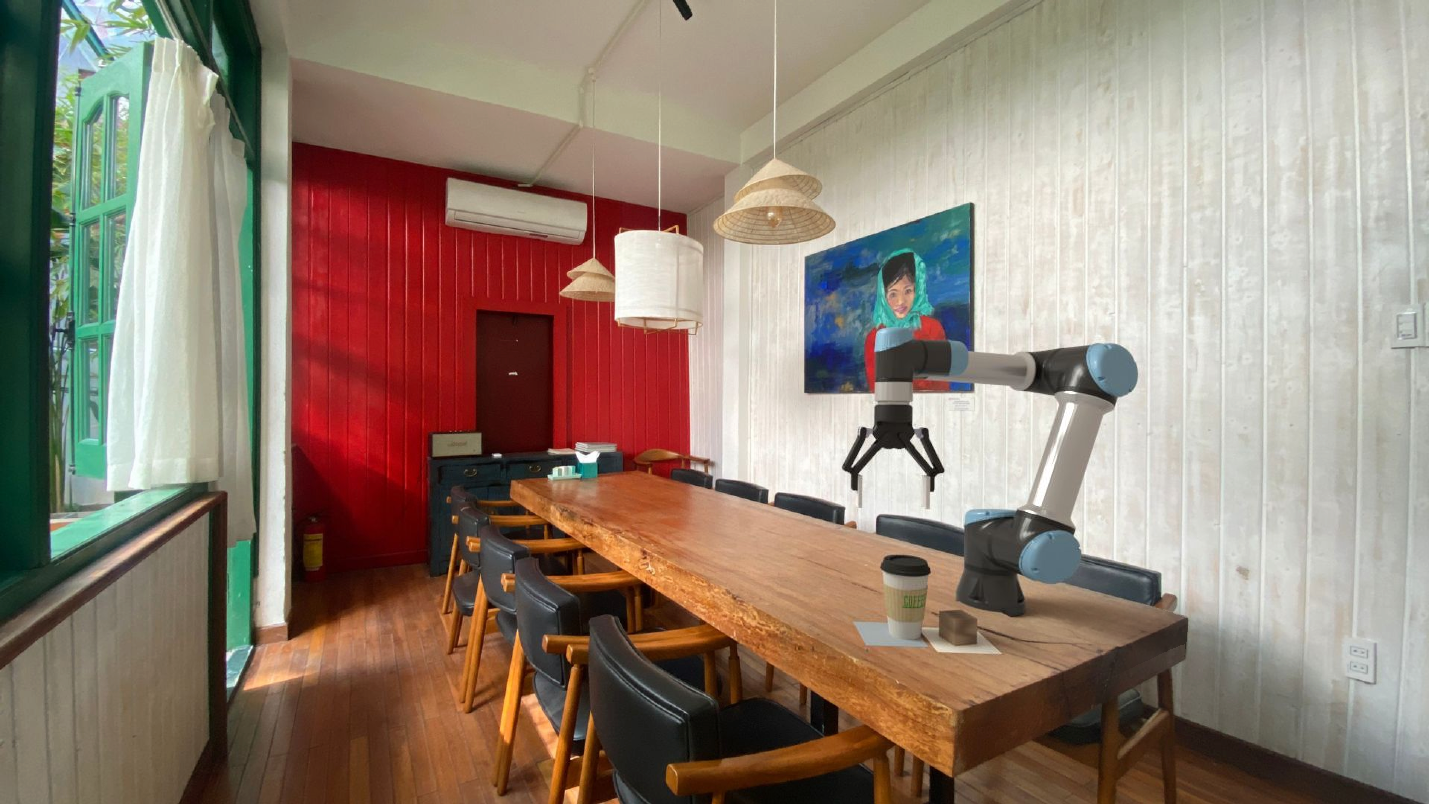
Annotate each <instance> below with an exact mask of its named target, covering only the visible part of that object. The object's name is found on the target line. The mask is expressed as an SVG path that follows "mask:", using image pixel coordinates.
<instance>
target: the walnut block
mask: <svg viewBox="0 0 1429 804" xmlns="http://www.w3.org/2000/svg"><path fill="white" fill-rule="evenodd" d="M938 628H939V636H940V637H941V638H943V639H944V640H946V641H948V642H949V643H951V644H952V645H954V646H961V645H972V644H977V631H978V618H977V617H975V616H973V615H971V614H970V613H969V612H966V611H964V610H962V609H952V610H950V609H949V610H948V609H947V610H939V611H938Z"/></svg>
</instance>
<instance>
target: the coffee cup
mask: <svg viewBox="0 0 1429 804" xmlns="http://www.w3.org/2000/svg"><path fill="white" fill-rule="evenodd" d="M879 569H880V570H881V571H882V579H883V580H882V588H883V595H884V603H885V604H884V605H885V613H886V617H887V623H888V627H889V633H890V634H891V635H892V636H894V637H896V638H900V639H905V640H915V639H918V638H920V637H921V636H922V632H921V631H922V627H923V621H924V619H925V611H926V604H927V603H926V602H927V596H928V587H929V586H928V582H929V581H928V580H929V575H931V573H932V571H931V567H930V566H929V563H928V561H927V560H926V559H925V558H922V557H920V556H915V555H909V554H889V555H886V556H884V557H883V560H882V561H881V563H880V566H879ZM921 638H922V637H921Z"/></svg>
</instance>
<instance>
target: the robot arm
mask: <svg viewBox="0 0 1429 804" xmlns="http://www.w3.org/2000/svg"><path fill="white" fill-rule="evenodd" d="M875 334H876V335H875V339H874V340H875V341H874V342H875V343H874V350H873V351H874V401H875V402H877V403H876V404H875V405H874V408H873V411H874V412H873V413H874V414H873V419H874V420H873V427H871V428H870V427H866V426H862V425H861V426H859V427H858V429H857V437H856V439H855V440H854V443H853V445H852V447H851V448H850V450H849V452H848V455H846V458H845V460H844V462H843V463H842V466H841V470H842V471H844V472H846V473H848V474H850V489H851V490H852V491H855V497H854V498H855V504H854V505H855V506H856V507H857V508H858V509H863V475H862V474H860V473H861V471H862V470H863V469H864V468H866V466H867V465H868V464H869V462H871V460H872V459H873V458H874V457H875V455H876V454H877V453H879V452H880V451H881V450H882V449H884V450H893V449H895V450H903V449H904V450H905V451H907V453H908V454H909V455H910V457H912V459H913V460H914V461H915V462H916V463H917V465H918V466H919V467H920V469H922V470H923V472H924V473H925V474H926V475H925V474H922V475H921V507H922V508H923V509H926V510H930V509H931V504H930V503H931V493H934V492H935V489H936V488H935V486H936V484H935V481H936V477H937V476H938V475H940V474H944V473H945V471H946V470H945V467H944V466H943V464H942V461H941V459H940V457H939V454H938V453H937V450H936V449H935V447H934V445H933V443H932V441H931V439H930V430H929V428H927V427H919V428H914V427H913V423H914V422H913V421H914V420H913V419H914V417H913V413H914V409H913V406H912V405H911V402H913V401H914V385H913V384H914V383H913V382H914V380H921V381H922V380H925V381H938V382H951V383H962V384H963V383H967V384H976V385H977V384H979V385H990V386H992V385H994V386H1004V387H1005V386H1006V387H1010V388H1011V389H1012V390H1014V391H1016V392H1026V393H1035V394H1041V395H1047V396H1051V397H1052V396H1053V397H1054V398H1055V400H1056V401H1057V402H1058V407H1057V410H1056V414H1055V417H1054V420H1053V422H1052V426H1051V428H1050V429H1051V430H1050V433H1049V435H1048V438H1047V441H1046V444H1045V447H1044V450H1043V454H1042V456H1041V459H1040V463H1039V466H1038V468H1037V471H1036V474H1035V477H1034V478H1035V479H1034V481H1033V484H1032V487H1031V490H1030V493H1029V496H1028V500H1027V502H1026V504H1024V505H1022V506H1020V507H1018V508H1016V509H1015V510H1014V509H1008V508H1007V509H1006V508H1005V509H1003V508H1001V509H1000V508H974V509H969V510H967V511H966V512H965V516H964V524H963V530H964V532H963V533H964V534H963V538H964V539H963V542H964V544H963V545H964V547H963V548H964V549H963V552H964V553H963V571H962V573H961V577H960V578H959V581H958V584H957V587H956V590H955V602H960V603H961V604H964V605H965V606H968V607H970V608H974V609H978V610H983V611H987V612H991V613H992V612H993V613H994V612H995V613H1002V614H1004V615H1006V616H1007V617H1015V616H1021V615H1022V614H1024V613H1025V612H1026V604H1027V603H1026V598H1025V596H1024V591H1023V589H1022V587H1021V583H1020V580H1019V576H1023V577H1025V578H1027V579H1028V580H1031V581H1035V582H1040V583H1042V584H1045V585H1056V584H1060V583H1062V582H1063V581H1067V580H1068V579H1069V578H1071V577H1072V576H1073V575H1074V574H1075V573H1076V571H1077V569H1078V568H1079V566H1080V563H1081V561H1082V550H1081V549H1080V548H1081V544H1080V541H1079V540H1078V539H1077V538H1076V537H1075V534H1076V533H1075V532H1076V529H1077V528H1076V526H1075V524H1074V522H1073V521H1072V518H1071V517H1072V515H1073V511H1074V509H1075V508H1074V507H1075V505H1076V502H1077V499H1078V495H1079V492H1080V489H1081V486H1082V484H1083V481H1084V477H1085V473H1086V471H1087V468H1088V465H1089V462H1090V458H1091V455H1092V452H1093V449H1094V447H1095V443H1096V440H1097V436H1098V433H1099V430H1100V427H1101V424H1102V421H1103V418H1104V415H1106V414H1108V413H1110V412H1112V411H1114V410H1115V407H1116V404H1117V401H1118V399H1119V398H1122V397H1125V396H1127V395H1128V394H1129V393H1132V392H1133V391H1134V390H1135V388H1136V386H1137V384H1138V380H1139V369H1138V365H1137V362H1136V361H1135V359H1134V356H1133V354H1132V353H1131V352H1130V351H1129V350H1128V349H1127V348H1125V347H1124V346H1123V345H1120V344H1118V343H1111V342H1106V343H1105V342H1104V343H1101V342H1095V343H1093V344H1087V345H1078V346H1069V347H1058V348H1053V349H1047V350H1046V349H1045V350H1037V351H1017V352H1015V353H1013V354H1007V353H1006V354H1005V353H996V352H995V353H994V352H984V351H983V352H982V351H969V350H968V348H967V346H966V345H965V343H963V342H962V341H959V340H958V341H956V340H951V339H920V338H919V339H918V338H915V335H914V334H915V333H914V330H913V328H911V327H907V326H906V327H904V326H893V327H884V328H881V329H880V328H879V330H877V332H876V333H875ZM870 435H872V436H873V438H874V439H875V440H874V442H873V443H872V444H871V445H870V447H868V448H867V450H866V451H865V453H864V454H863V455H862V456H861V457H860V458H859V459H858V460H857V462H856V463H855V461H856V459H857V458H858V455H859V454H860V452H861V449H862V448H863V445H864V444H865V441H866V439H868V438H869V437H870ZM914 436H916V438H917V439H919V441H920V443H921V445H922V448H923V449H924V451H925V454H926V455H927V458H928V460H929V462H930V464H931V465H930V464H929V462H928V461H927V460H926V459H925V457H924V456H922V454H921V453H920V452H919V450H918V449H917V448H916V445H914V444H913V442H912V441H911V440H912V439H913V437H914ZM854 463H855V464H854Z"/></svg>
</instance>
